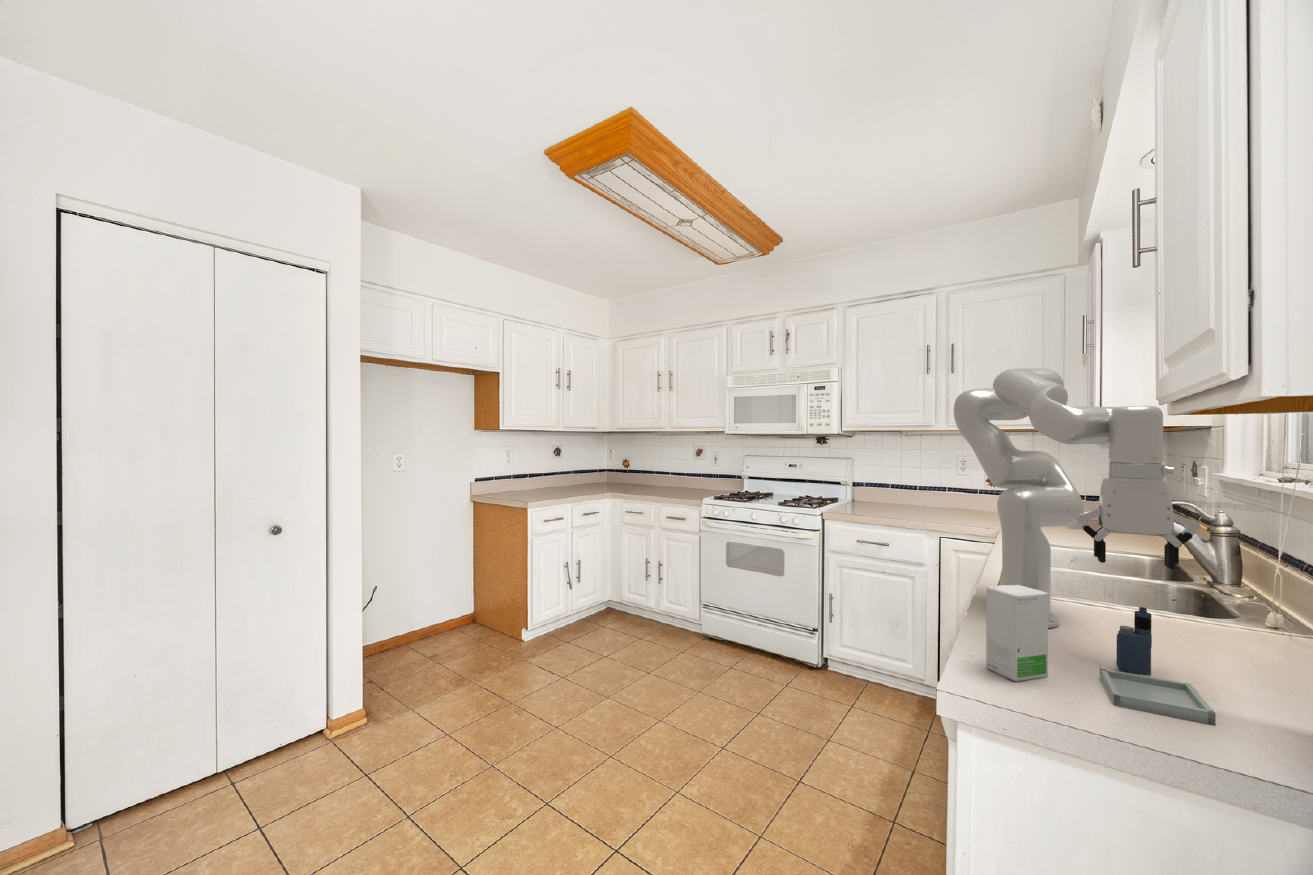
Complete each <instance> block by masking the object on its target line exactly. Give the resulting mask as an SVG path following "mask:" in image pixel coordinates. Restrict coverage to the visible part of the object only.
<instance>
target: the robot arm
mask: <svg viewBox="0 0 1313 875" xmlns="http://www.w3.org/2000/svg"><path fill="white" fill-rule="evenodd" d="M1064 386H1065V385H1064V381H1063V378H1062V376H1061V375H1060V374H1059V373H1058V372H1057V371H1055V370H1053V369H1050V368H1042V367H1041V368H1034V367H1033V368H1021V367H1020V368H1010V369H1006V370H1004V371H1002V372H1000V373H999V374H998V375H997V376H996V377H994V380H993V383H992V388H988V387H987V388H975V389H974V388H973V389H968V390H965V391H963V392H961V393H960V394H959V395H957V397H956V398H955V401H954V404H953V419H954V422H955V426H956V427H957V428H958V431H959V432H960V434H961V435H962V437H963V438H964V439H965V440H966V442H967V443H968V444H969V446H970V447H971V448H972V450H973V452H974V454H975V456H976V458H977V460H978V462H979V463H980V465H981V468H982V469H983V471H984V473H985V475H986V477H987V479H988V480H989V481H990V483H991V484H992V485H993V486H994V487H996V488H999V489H1005V490H1003V491H1001V493H1000V494H999V496H998V498H997V503H996V506H997V507H996V508H997V512H998V518H999V522H1000V528H1001V529H1000V530H1001V552H1002V554H1001V558H1002V559H1001V563H1002V564H1001V567H1002V568H1001V571H1002V572H1001V574H1002V575H1001V585H1021V586H1025V587H1028V588H1032V589H1036V590H1040V591H1043V592H1047V593H1048V629H1052V628H1056V627H1058V626H1059V625H1060V622H1059V621H1060V620H1059V617H1057V616H1056V615H1054V614H1053V613H1051V599H1052V598H1051V586H1052V585H1051V579H1052V578H1051V576H1052V574H1051V570H1052V568H1051V566H1052V564H1051V561H1052V556H1051V555H1052V554H1051V553H1052V550H1051V549H1052V548H1051V545H1050V543H1049V540H1048V538H1047V536H1045V533H1044V532H1043V530H1042V528H1047V527H1069V526H1073V525H1076V524H1079V525H1080V527H1081V529H1082V531H1083V532H1085V533H1086V534H1087V535H1088V536H1090V537H1091V538H1092V539H1093V556H1094V557H1096V558H1097V560H1098V562H1100V563H1103V564H1104V563H1106V561H1107V560H1106V558H1107V556H1106V555H1107V553H1106V550H1107V549H1106V546H1107V545H1106V543H1107V542H1106V541H1104V539H1105V538H1106V537H1107V536H1109V534H1111V533H1118V534H1126V535H1127V534H1129V535H1142V536H1143V535H1145V536H1155V537H1157V536H1158V537H1159V536H1160V537H1162V538H1163V539H1164V540H1165V541H1166V543H1165V544H1164V549H1163V550H1164V551H1163V552H1164V554H1163V555H1164V556H1163V557H1164V559H1163V560H1164V561H1163V562H1164V563H1163V564H1164V566H1165V567H1166V568H1168V569H1170V570H1175V569H1176V565H1179V562H1180V554H1179V553H1180V548H1181V547H1182V546H1183V545H1184V544H1186V543H1187V542H1188V541H1190V540H1192V539H1193V536H1194V535H1195V534H1196V533H1197V531H1198V530H1199V529H1200V528H1201V525H1200V523H1198V522H1196V521H1193V520H1191V519H1189V518H1187V517H1185V516H1182V515H1180V514H1178V513H1176V512H1174V507H1173V501H1172V494H1171V489H1170V486H1169V482H1168V481H1167V480H1164V479H1165V477H1166V476H1168V475H1174V473H1175V470H1174V467H1173V466H1167V465H1165V463H1163V462H1164V413H1163V411H1162V409H1161V408H1160V407H1158V406H1154V405H1128V406H1125V405H1123V406H1069V405H1067V404H1068V401H1069V393H1068V392H1067V389H1066V388H1065V387H1064ZM1027 417H1028V418H1029V421H1030V424H1031V425H1032V427H1033V429H1034V430H1036V431H1037V432H1038V433H1040V434H1042V435H1044V436H1045V437H1048V438H1049V439H1051V440H1054V441H1056V442H1058V443H1061V444H1066V445H1108V478H1104V477H1103V478H1102V480H1101V481H1102V482H1101V486H1100V491H1099V500H1098V507H1097V508H1095V509H1092V510H1089V511H1086V512H1085V506H1084V502H1083V499H1082V498H1081V495H1080V493H1079V491H1078V490H1077V489H1076V486H1075V485H1074V484H1073V483H1072V480H1071V479H1070V478H1069V476H1068V475H1067V473H1066V471H1065V470H1064V469H1063V467H1062V466H1061V464H1060V462H1058V460H1057V459H1056V458H1055V457H1054V456H1052V454H1049V453H1048V452H1045V451H1042V450H1021V449H1017V448H1016V447H1015V445H1014V444H1013V443H1012V441H1011V439H1010V438H1009V436H1008V435H1007V434H1006V432H1005V431H1003V430H1002V429H1001V428H1000V427H998V426H996V425H995V424H994V423H992V422H991V421H1019V420H1022V419H1025V418H1027ZM1095 518H1097V521H1098V522H1097V524H1098V525H1099V527H1098V528H1097V529H1096V530H1094V529H1093V528H1092V527H1091V526H1090V524H1089V523H1088V521H1089V520H1092V519H1095ZM1175 522H1177V523H1179V524H1181V525H1183V526H1185V527H1184V529H1183V530H1182V531H1181V532H1179V533H1178V534H1177V535H1176V536H1175V535H1174V534H1173V532H1174V530H1175V529H1174V528H1175Z"/></svg>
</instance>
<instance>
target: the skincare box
mask: <svg viewBox="0 0 1313 875" xmlns="http://www.w3.org/2000/svg"><path fill="white" fill-rule="evenodd" d="M985 590H986V592H985V593H986V613H985V614H986V619H985V620H986V632H985V633H986V635H985V636H986V637H985V638H986V640H985V642H986V644H985V646H986V649H985V650H986V651H985V652H986V653H985V658H986V659H985V660H986V661H985V668H986V669H989V670H990V671H992V672H994V673H996V674H998V675H1000V676H1002V677H1004V678H1006V679H1008V680H1011V681H1013V682H1019V681H1026V680H1033V679H1034V680H1035V679H1041V678H1048V677H1049V628H1048V593H1047V592H1043V591H1040V590H1036V589H1032V588H1028V587H1025V586H1021V585H1002V584H1000V585H993V586H992V585H991V586H990V585H989V586H986V587H985Z"/></svg>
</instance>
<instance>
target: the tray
mask: <svg viewBox="0 0 1313 875" xmlns="http://www.w3.org/2000/svg"><path fill="white" fill-rule="evenodd" d="M1099 678H1100V681H1101V683H1102V684H1103V687H1104V689H1105V690H1106V692H1107V694H1108V697H1109V698H1110V700H1111V702H1112V704H1113V706H1118V707H1122V708H1126V709H1127V708H1128V709H1132V710H1138V711H1143V712H1147V713H1154V714H1158V715H1161V716H1162V715H1163V716H1168V717H1173V718H1179V719H1182V720H1183V719H1184V720H1188V721H1193V722H1198V723H1203V724H1210V725H1214V726H1216V720H1217V719H1216V717H1217V716H1216V715H1217V714H1216V712H1215V711H1214V710H1213V708H1212V707H1211V706H1210V705H1209V703H1208V702H1206V700H1205V699H1204V698H1203V697H1202V696H1201V695H1200V693H1199V692H1198V691H1197V690H1196V689H1195V687H1194V686H1193V685H1192V684H1191V683H1188V682H1183V681H1176V680H1171V679H1167V678H1166V679H1165V678H1164V679H1163V678H1161V677H1160V678H1158V677H1152V676H1147V675H1143V674H1131V673H1125V672H1122V671H1120V670H1112V669H1107V668H1106V669H1105V668H1099Z"/></svg>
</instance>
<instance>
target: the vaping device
mask: <svg viewBox="0 0 1313 875" xmlns="http://www.w3.org/2000/svg"><path fill="white" fill-rule="evenodd" d="M1147 611H1148V608H1147V607H1143V606H1139V607H1138V610H1135V611H1134V621H1133V622H1134V628H1133V627H1131V626H1127V625H1120V626H1119V630H1118V631H1117V632H1118V633H1117V634H1116V667H1117V669H1118V671H1119V672H1125V673H1131V674H1137V675H1144V676H1147V675H1149V676H1151V675H1152V647H1153V646H1152V640H1153V638H1152V637H1153V636H1152V613H1150V612H1147Z"/></svg>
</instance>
